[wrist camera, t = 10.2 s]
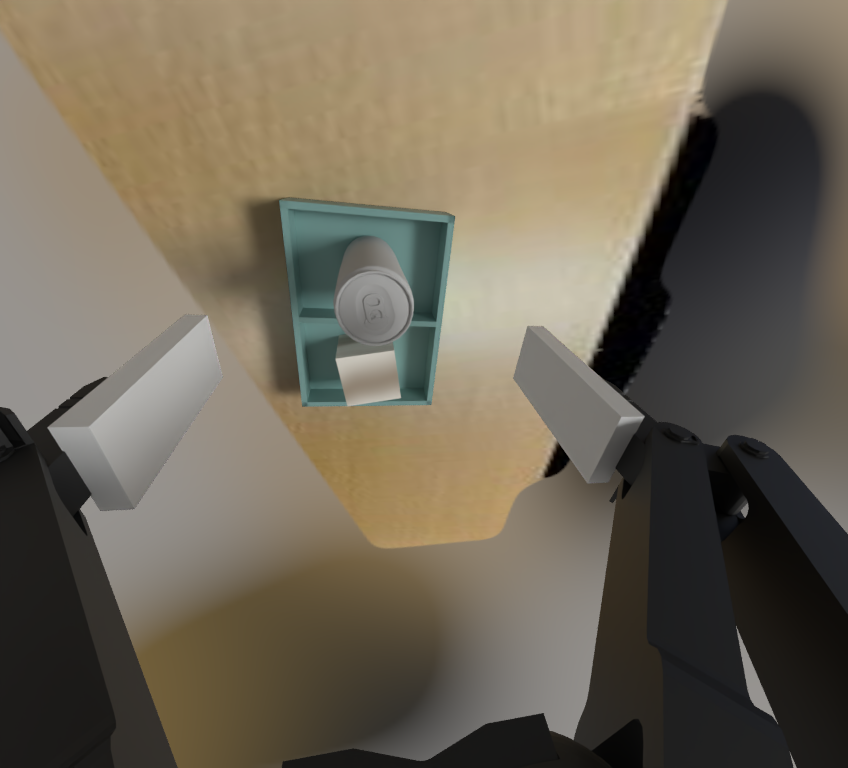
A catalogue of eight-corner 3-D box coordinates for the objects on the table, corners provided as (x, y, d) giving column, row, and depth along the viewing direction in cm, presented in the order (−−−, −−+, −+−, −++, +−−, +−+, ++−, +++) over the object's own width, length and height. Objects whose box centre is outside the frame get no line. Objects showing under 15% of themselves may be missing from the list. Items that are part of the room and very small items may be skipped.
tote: (288, 197, 27) (279, 200, 24) (445, 212, 29) (455, 216, 26) (307, 387, 36) (302, 406, 33) (426, 387, 39) (431, 404, 36)
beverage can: (348, 294, 31) (342, 353, 21) (335, 238, 28) (322, 274, 18) (400, 287, 31) (420, 341, 21) (393, 230, 29) (411, 262, 19)
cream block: (338, 335, 33) (335, 358, 28) (390, 328, 33) (394, 350, 29) (349, 378, 35) (347, 406, 31) (396, 371, 36) (401, 398, 32)
